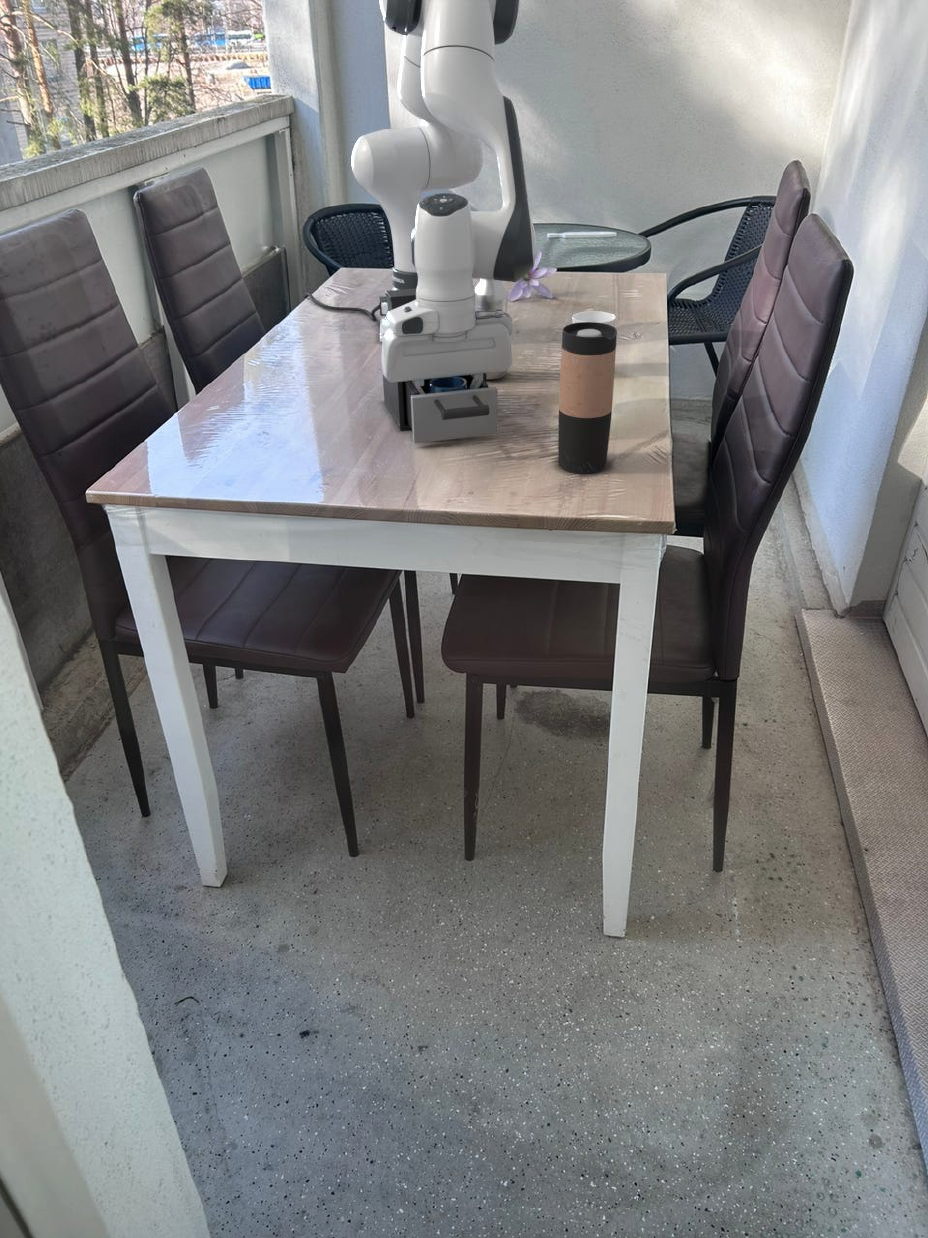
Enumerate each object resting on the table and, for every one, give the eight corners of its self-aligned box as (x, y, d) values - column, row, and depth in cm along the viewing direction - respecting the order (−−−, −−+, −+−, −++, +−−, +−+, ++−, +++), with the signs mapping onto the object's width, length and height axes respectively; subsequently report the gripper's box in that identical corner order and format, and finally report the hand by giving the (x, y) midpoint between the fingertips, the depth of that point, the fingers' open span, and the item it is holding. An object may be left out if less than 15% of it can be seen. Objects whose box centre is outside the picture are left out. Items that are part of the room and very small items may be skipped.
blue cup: (435, 421, 148) (434, 390, 145) (426, 408, 152) (425, 378, 150) (471, 417, 149) (470, 386, 146) (461, 404, 154) (461, 374, 151)
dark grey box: (486, 420, 157) (486, 366, 152) (400, 430, 154) (397, 375, 149) (465, 393, 168) (464, 342, 163) (384, 402, 165) (381, 350, 160)
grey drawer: (509, 449, 144) (510, 403, 140) (423, 459, 142) (421, 412, 138) (476, 407, 160) (475, 364, 156) (398, 415, 157) (395, 372, 153)
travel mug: (552, 455, 145) (557, 322, 134) (602, 452, 145) (611, 320, 134) (561, 476, 138) (567, 338, 127) (612, 473, 139) (623, 336, 128)
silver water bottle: (512, 373, 177) (513, 261, 166) (501, 384, 172) (502, 269, 161) (479, 370, 179) (478, 259, 168) (467, 381, 174) (466, 267, 163)
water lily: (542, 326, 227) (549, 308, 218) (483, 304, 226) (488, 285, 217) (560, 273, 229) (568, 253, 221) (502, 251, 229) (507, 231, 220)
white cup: (610, 378, 174) (614, 323, 168) (567, 376, 175) (570, 321, 170) (613, 365, 180) (617, 311, 175) (572, 363, 182) (574, 309, 176)
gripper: (506, 302, 147) (505, 389, 155) (376, 313, 143) (381, 402, 150) (518, 313, 142) (517, 402, 149) (383, 325, 138) (389, 416, 145)
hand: (448, 402), depth 150 cm, fingers closed on blue cup, 6 cm apart
